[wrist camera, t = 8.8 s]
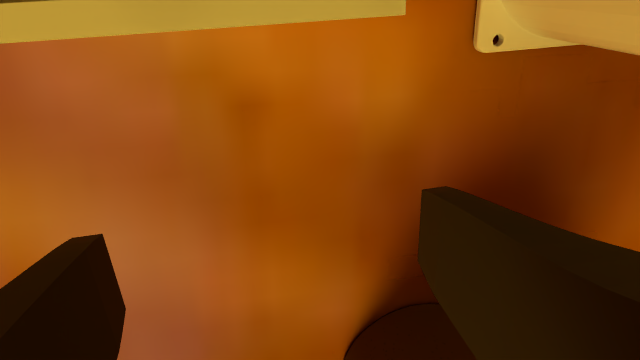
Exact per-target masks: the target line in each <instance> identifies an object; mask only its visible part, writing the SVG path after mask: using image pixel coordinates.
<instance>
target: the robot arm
mask: <svg viewBox="0 0 640 360" xmlns="http://www.w3.org/2000/svg"><path fill="white" fill-rule="evenodd" d="M496 35H498V36H499V40H498V42H497V43H496V44H495V45H493V38H494V37H495V36H496ZM473 43H474V47H475V49H476V50H478V51H480V52H484V53H489V52H500V51H512V50H523V49H535V48H546V47H558V46H569V45H581V44H583V45H588V46H593V47H599V48H604V49H609V50H614V51H620V52H625V53H630V54H636V55H640V0H477V10H476V20H475V30H474V40H473ZM418 262H419V264H420V267H421V269H422V271H423V273H424V275H425V278H426V280H427V282H428V284H429V286H430V288H431V290H432V292H433V294H434V296H435V297H436V299H437V300H438V302H439V303H440V305H441V306H442V308H443V309H444V311H445V313H446V314H447V316H448V317H449V319H450V320H451V322H452V323H453V325H454V326H455V328H456V329H457V331H458V332H459V334H460V335H461V337H462V338H463V340H464V341H465V342H466V344H467V345H468V347H469V348H470V350H471V351H472V353H473V354H474V356H475V357H476V359H477V360H640V252H638V251H634V250H630V249H627V248H623V247H619V246H616V245H612V244H608V243H605V242H601V241H597V240H594V239H591V238H588V237H584V236H581V235H578V234H575V233H572V232H569V231H566V230H563V229H561V228H558V227H555V226H552V225H549V224H546V223H543V222H541V221H538V220H535V219H533V218H530V217H527V216H525V215H522V214H520V213H517V212H514V211H512V210H509V209H507V208H504V207H502V206H499V205H497V204H494V203H492V202H489V201H487V200H484V199H482V198H479V197H477V196H474V195H471V194H469V193H466V192H463V191H460V190H457V189H454V188H450V187H446V186H445V187H438V188H430V189H423V190H422V197H421V214H420V231H419V248H418ZM125 311H126V308H125V305H124V301H123V298H122V295H121V292H120V289H119V285H118V282H117V279H116V276H115V273H114V269H113V266H112V263H111V260H110V256H109V253H108V250H107V247H106V244H105V240H104V237H103V234H97V235H90V236H83V237H76V238H71V239H69V240H68V241H66V242H64V243H63V244H61V245H60V246H58V247H57V248H55V249H54V250H53V251H51V252H50V253H48V254H47V255H46V256H44V257H43V258H42V259H40V260H39V261H37V262H36V263H35V264H33V265H32V266H31V267H29V268H28V269H27V270H25V271H24V272H23V273H21V274H20V275H19V276H17V277H16V278H15V279H13V280H12V281H11V282H9V283H8V284H7V285H5V286H4V287H2V288H1V289H0V360H117V357H118V353H119V349H120V343H121V338H122V332H123V325H124V318H125Z"/></svg>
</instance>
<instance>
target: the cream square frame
mask: <svg viewBox="0 0 640 360" xmlns="http://www.w3.org/2000/svg"><path fill="white" fill-rule="evenodd" d="M405 14H406V0H0V44H1V43H15V42H29V41H43V40H57V39H71V38H85V37H100V36H114V35H128V34H142V33H156V32H170V31H184V30H198V29H212V28H227V27H241V26H255V25H269V24H283V23H297V22H311V21H325V20H340V19H354V18H368V17H382V16H396V15H405Z"/></svg>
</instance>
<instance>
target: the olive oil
mask: <svg viewBox="0 0 640 360" xmlns="http://www.w3.org/2000/svg"><path fill="white" fill-rule="evenodd" d="M345 360H477V359H476V357H475V356H474V354H473V353H472V351H471V350H470V348H469V347H468V345H467V344H466V342H465V341H464V340H463V338H462V337H461V335H460V334H459V332H458V331H457V329H456V328H455V326H454V325H453V323H452V322H451V320H450V319H449V317H448V316H447V314H446V313H445V311H444V309H443V308H442V306H441V305H440V304H421V305H414V306H410V307H406V308H403V309H400V310H397V311H394V312H392V313H390V314H388V315H386V316H384V317H382V318H381V319H379V320H377V321H376V322H374V323H373V324H372V325H370V326H369V327H368V328H367V329H366V330H365V331H364V332H363V333H362V334H361V335H360V336H359V337H358V338H357V339H356V340H355V342H354V343H353V344H352V346H351V347H350V349H349V351H348V353H347V355H346V357H345Z"/></svg>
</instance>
